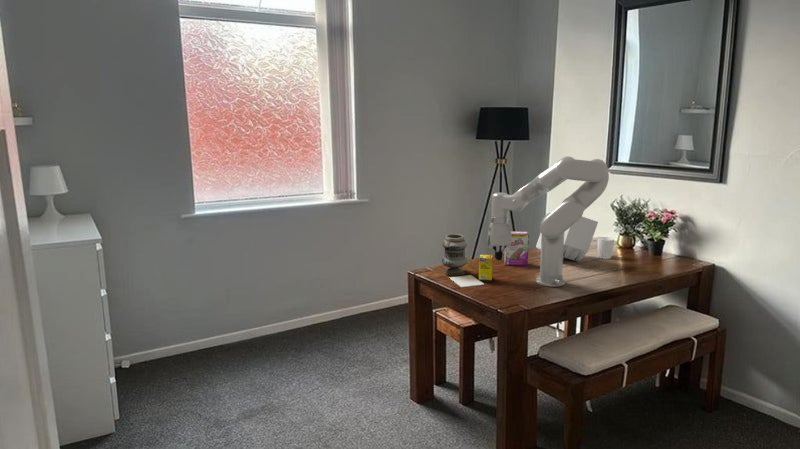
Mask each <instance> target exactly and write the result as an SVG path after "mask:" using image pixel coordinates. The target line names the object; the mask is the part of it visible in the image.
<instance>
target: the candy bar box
mask: <svg viewBox="0 0 800 449" xmlns="http://www.w3.org/2000/svg"><path fill="white" fill-rule="evenodd" d="M511 237H512V241H511V244H510V246H509V247H506V248H505V249H504V265H505V266H525V267H527V266H529V265H528V264H529V263H528V260H529V245H530V244H529V241H530V240H529V238H530V234H529V231H511Z"/></svg>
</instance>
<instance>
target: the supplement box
mask: <svg viewBox="0 0 800 449" xmlns="http://www.w3.org/2000/svg"><path fill="white" fill-rule="evenodd" d="M493 258H494V256H493V254H479V258H478V280H479V281H480V282H492V279H493V263H494V262H493V260H494V259H493Z"/></svg>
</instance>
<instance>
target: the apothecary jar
mask: <svg viewBox="0 0 800 449" xmlns="http://www.w3.org/2000/svg"><path fill="white" fill-rule="evenodd" d="M441 245H442V247H443V248H444V256H443V257H442V259H441V263H442V265H444V266H445V267H447V268H446V269H445V270H444V271H443V272H444V274H445V275H448V274H449V275H450V276H460V275H461V276H463V275H464V274H465V273H466V272H465V270H464V269H461V268H464V266H466V265H467V263H468V258H467V257H466V256H465V254H466V252H465V250H466V248H467V246H468V242H467V241H466V239H465V236H464V235H463V234H462V233H461V234H460V233H450V234H447V235H446V236H445V239H444V240H443V241H442V244H441Z"/></svg>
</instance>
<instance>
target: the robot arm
mask: <svg viewBox="0 0 800 449" xmlns="http://www.w3.org/2000/svg"><path fill="white" fill-rule="evenodd" d="M609 179H610V174H609V169H608V165H607V163H606V162H605V161H604V160H603V159H600V158H594V159H592V160H585V159H575V158H574V157H573V156H564V157H562V158H560V159H559V160H558V161H556V162H554V163H553V164H552V165H551V166H549V167H547V169H545V170H544V171H542V172H541V173H539V174H538V175H537V176H536V177H535V178H533V179H532V180H531V181H529V182H528V183H527V184H526V185H524V186H523V187H521V188H520V189H518V190H517V191H516V192H513V194H508V193H506V192H495V193H493V194H492V195H491V196H492V197H491V198H492V199H491V216H490V218H488V222H489V226H488V232H487V243H488V244H487V248H488V249H493V251H494V258H495V260H497V261H502V260H503V253H504V252H505V248H506V247H509V246H510V244H511V241H512V237H511V232H512V226H511V223H510V222H509V212H510V211H512V212H521V211H523V210H524V209H525V207H526V206H527V205H529V204H530V203H531V202H532V201H534V200H535V199H537V198H538V197H540V196H542V195H544V194H547V193H549V192H551V191H552V190H554V189H555V188H557V187H558V186H560V185H561V184H562V183H564V182H565V181H567V180H570V181H581V182H584V183H583V184H581V185H580V187H578V188H577V189H576V190H575V191H574V192H573V193H571V194H570V195H569V196H567V197H566V198H565V199H563V201H562V202H561V204H560V205H558V206H557V208H555V209H554V210H553V211H551V212H548V213H546V214H545V215H544V216H543V217H542V219H541V221H540V224H539V230H540V234H542V237H541V250H540V256H539V257H540V262H539V277H536V278H535V283H537V284H538V285H540V286H545V287H551V288H553V287H554V288H555V287H563V286H564V285H565V284H566V279H564V277H563V262H564V259H563V247H564V232H565V231H566V230H567V229H569V228H570V227H571V226H572V225H573V224H575V223H576V222H577V221H578V220H579V219H580V218H581V216H582V217H583V214H584V212H585V211H586V209H588V208H589V207H590V206H591V205H592V204H594V202H595V201H596V200H597V199H599V198H600V197H601V196H602V194H603V193H605V192H604V191H605V190H606V188H607V186H608V183H609Z"/></svg>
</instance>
